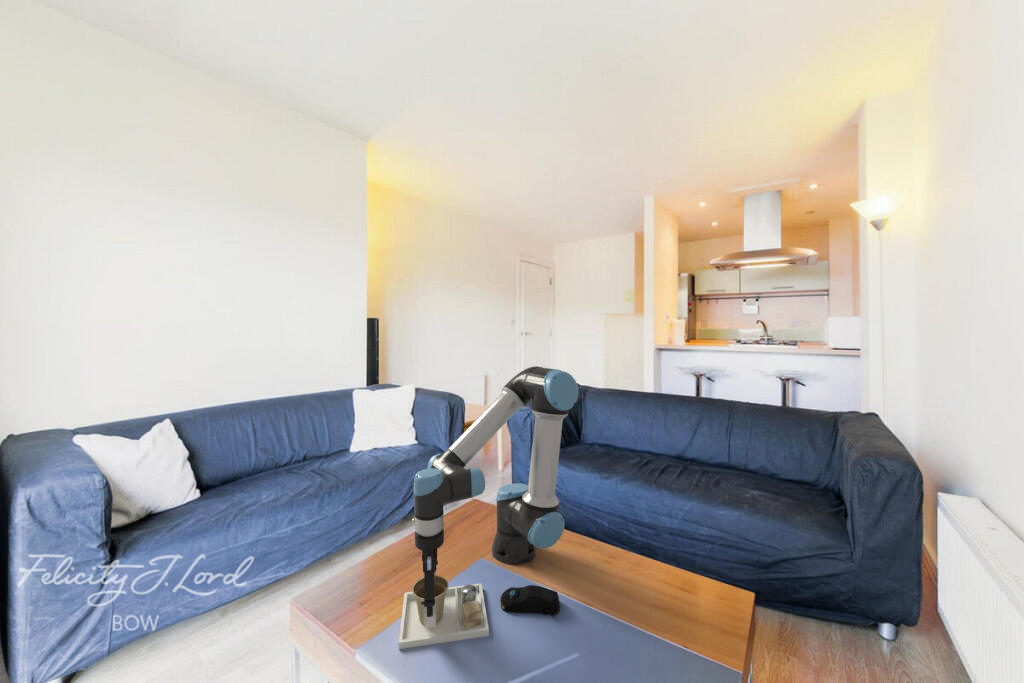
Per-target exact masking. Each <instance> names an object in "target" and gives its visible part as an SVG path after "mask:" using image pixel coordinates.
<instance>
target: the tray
mask: <svg viewBox="0 0 1024 683" xmlns="http://www.w3.org/2000/svg"><path fill="white" fill-rule="evenodd" d="M466 585H467V584H466ZM466 585H459V586H458V585H457V586H451V587H450V586H448V589H447V591H446V595H445V600H444V609H443V617H442V619H441V620H440V621H439V622H438V623H437V624H436V626H434V627H427V628H425V625H424V624H422V623H421V622H420V620H419V614H418V609H417V603H416V599H415V597H414V595H413V592H412V591H408V592H407V591H406V592H404V595H403V602H402V604H403V605H402V612H401V613H402V614H401V619H400V627H399V628H400V629H399V635H398V636H399V637H398V644H397V645H398V650H403V649H404V650H405V649H410V648H417V647H423V646H425V647H426V646H430V645H437V644H444V643H449V642H457V641H465V640H470V639H471V640H472V639H478V638H485V637H489V636H490V628H489V622H488V617H487V610H486V604H485V598H484V597H485V596H484V592H483V591H484V590H483V584H482V583H481V582H480V583H473V584H471V585H473V586H475V587H476V602H477V604H478V605H479V607H480V609H481V625H478V626H476V627H473V628H470V629H467V630H466V627H465V625H464V623H463V621H462V609H461V605H462V588H463V587H464V586H466Z"/></svg>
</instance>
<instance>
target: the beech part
mask: <svg viewBox="0 0 1024 683" xmlns="http://www.w3.org/2000/svg"><path fill="white" fill-rule="evenodd" d="M461 609H462V621H463V623H464V625H465V627H466V630H467V629H470V628H473V627H476V626H478V625H481V609H480V607H479V605H478V604H477V602H476V600H475V601H471V602H468V603H465V604H462V605H461Z"/></svg>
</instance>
